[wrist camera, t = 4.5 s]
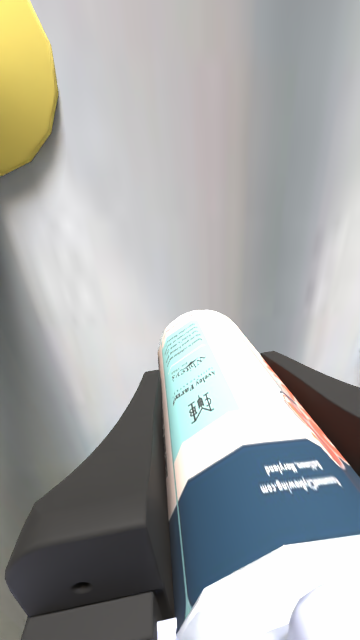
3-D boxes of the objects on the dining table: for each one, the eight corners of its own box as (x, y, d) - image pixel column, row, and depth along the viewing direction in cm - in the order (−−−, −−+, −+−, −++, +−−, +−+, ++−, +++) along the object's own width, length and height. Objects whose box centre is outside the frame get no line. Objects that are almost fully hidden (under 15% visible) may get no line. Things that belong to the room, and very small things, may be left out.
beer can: (221, 387, 16) (379, 755, 5) (148, 371, 15) (145, 791, 4) (251, 318, 15) (571, 633, 4) (171, 296, 14) (272, 640, 3)
